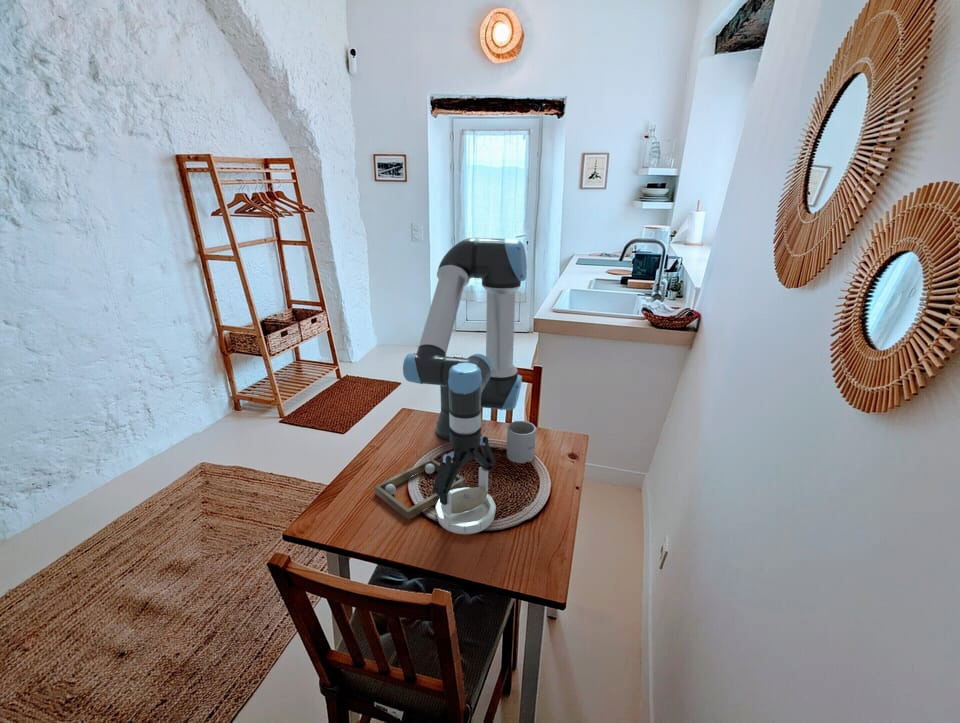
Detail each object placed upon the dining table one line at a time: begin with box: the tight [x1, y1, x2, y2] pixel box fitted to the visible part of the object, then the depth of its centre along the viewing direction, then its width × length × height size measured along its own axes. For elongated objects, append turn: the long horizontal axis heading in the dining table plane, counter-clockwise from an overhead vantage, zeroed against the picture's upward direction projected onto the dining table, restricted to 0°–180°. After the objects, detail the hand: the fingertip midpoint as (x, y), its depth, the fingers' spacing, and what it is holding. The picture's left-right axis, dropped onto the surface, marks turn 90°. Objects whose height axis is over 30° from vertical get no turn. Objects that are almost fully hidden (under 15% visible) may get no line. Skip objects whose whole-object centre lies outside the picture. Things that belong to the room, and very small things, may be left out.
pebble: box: [385, 484, 397, 496], centre depth 129 cm, size 3×3×3 cm
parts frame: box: [374, 457, 466, 521], centre depth 131 cm, size 20×15×2 cm
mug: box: [506, 420, 537, 464], centre depth 147 cm, size 12×9×10 cm
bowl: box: [435, 486, 497, 535], centre depth 121 cm, size 15×15×3 cm
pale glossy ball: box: [424, 464, 436, 475], centre depth 138 cm, size 3×3×3 cm
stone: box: [451, 486, 488, 514], centre depth 120 cm, size 6×6×12 cm
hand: (465, 501), depth 120 cm, fingers closed on stone, 12 cm apart
